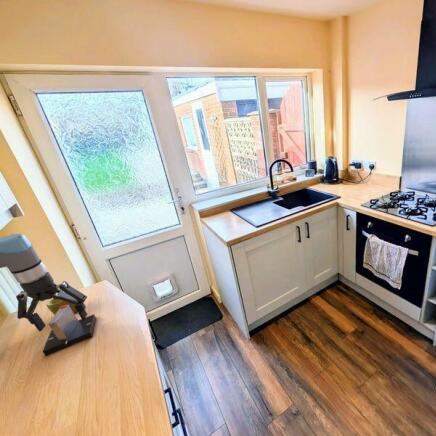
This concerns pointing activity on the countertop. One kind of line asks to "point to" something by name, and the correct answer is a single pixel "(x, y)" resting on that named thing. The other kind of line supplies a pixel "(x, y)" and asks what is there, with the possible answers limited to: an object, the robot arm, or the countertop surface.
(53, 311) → the mug
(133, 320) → the countertop surface
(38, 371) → the countertop surface
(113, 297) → the countertop surface
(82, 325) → the base
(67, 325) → the tap handle
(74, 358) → the countertop surface
